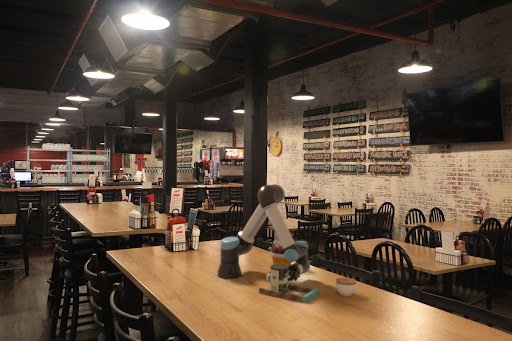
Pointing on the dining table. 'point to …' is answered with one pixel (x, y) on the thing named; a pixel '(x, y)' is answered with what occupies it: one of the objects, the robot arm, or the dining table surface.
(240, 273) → the robot arm
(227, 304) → the dining table surface
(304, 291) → the guide rails
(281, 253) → the bucket of meat
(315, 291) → the bar
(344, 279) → the lidded jar
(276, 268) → the coffee can
